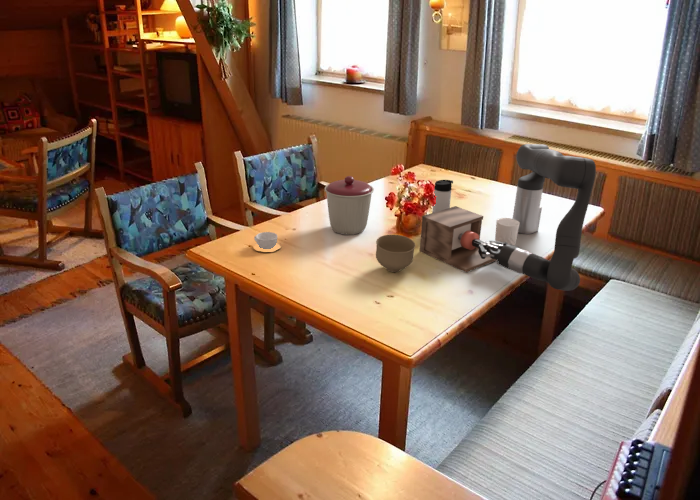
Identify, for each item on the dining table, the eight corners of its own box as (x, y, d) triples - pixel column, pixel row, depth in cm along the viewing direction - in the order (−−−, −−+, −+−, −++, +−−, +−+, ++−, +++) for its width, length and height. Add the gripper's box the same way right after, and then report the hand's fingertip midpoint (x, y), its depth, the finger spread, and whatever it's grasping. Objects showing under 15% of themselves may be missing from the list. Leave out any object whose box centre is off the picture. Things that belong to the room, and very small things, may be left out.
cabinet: (498, 259, 198) (503, 223, 193) (466, 272, 188) (470, 235, 183) (452, 240, 213) (455, 206, 207) (419, 251, 203) (422, 216, 198)
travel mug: (447, 234, 217) (452, 183, 209) (430, 233, 218) (434, 182, 210) (448, 228, 223) (453, 178, 215) (431, 227, 224) (435, 177, 216)
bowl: (387, 281, 181) (389, 252, 177) (367, 265, 191) (368, 237, 187) (421, 274, 187) (423, 245, 183) (400, 259, 197) (401, 231, 193)
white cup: (516, 245, 210) (520, 219, 205) (514, 253, 203) (518, 227, 199) (494, 242, 212) (497, 216, 208) (491, 250, 205) (495, 224, 201)
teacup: (286, 245, 205) (286, 233, 204) (271, 256, 197) (270, 243, 195) (263, 240, 209) (262, 228, 207) (247, 250, 201) (246, 238, 199)
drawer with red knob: (481, 249, 198) (484, 227, 195) (462, 256, 193) (464, 234, 189) (453, 237, 207) (455, 216, 204) (434, 244, 201) (436, 222, 198)
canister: (316, 234, 215) (316, 179, 207) (335, 218, 231) (336, 167, 222) (361, 242, 209) (363, 186, 201) (378, 225, 224) (381, 173, 216)
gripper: (530, 243, 184) (487, 227, 196) (505, 253, 176) (461, 236, 189) (527, 264, 187) (484, 247, 199) (502, 275, 179) (459, 257, 192)
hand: (473, 241), depth 194 cm, fingers closed
